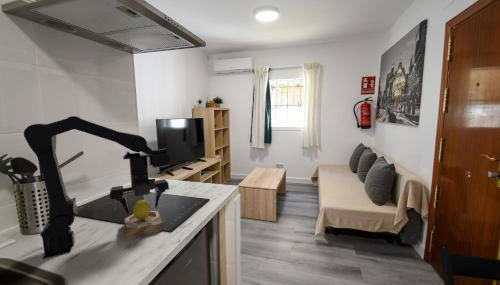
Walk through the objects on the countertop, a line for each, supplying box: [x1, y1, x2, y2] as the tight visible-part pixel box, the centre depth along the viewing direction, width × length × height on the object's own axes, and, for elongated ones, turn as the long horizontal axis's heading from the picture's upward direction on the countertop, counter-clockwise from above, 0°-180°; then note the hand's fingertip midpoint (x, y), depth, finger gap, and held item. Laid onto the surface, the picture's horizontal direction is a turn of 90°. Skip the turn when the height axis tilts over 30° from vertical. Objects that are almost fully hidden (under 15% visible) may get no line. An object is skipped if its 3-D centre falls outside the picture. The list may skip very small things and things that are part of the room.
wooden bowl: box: [123, 210, 164, 241], centre depth 81 cm, size 12×12×4 cm
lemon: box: [133, 199, 151, 221], centre depth 80 cm, size 6×6×8 cm
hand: (142, 210), depth 80 cm, fingers open, 9 cm apart
